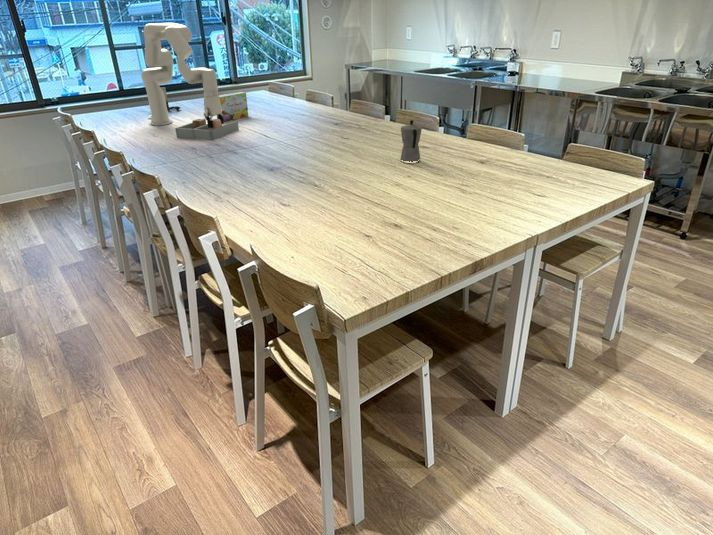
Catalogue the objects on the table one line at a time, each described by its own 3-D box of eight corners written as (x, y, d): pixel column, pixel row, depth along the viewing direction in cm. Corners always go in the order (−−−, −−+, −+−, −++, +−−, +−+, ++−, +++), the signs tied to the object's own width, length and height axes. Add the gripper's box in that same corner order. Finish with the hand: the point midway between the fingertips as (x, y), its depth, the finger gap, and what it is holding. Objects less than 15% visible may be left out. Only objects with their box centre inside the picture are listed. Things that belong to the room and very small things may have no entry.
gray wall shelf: (177, 137, 268) (175, 128, 265) (205, 127, 289) (204, 118, 287) (212, 140, 261) (211, 130, 258) (238, 129, 282) (237, 120, 280)
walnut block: (194, 133, 276) (192, 120, 273) (200, 131, 280) (197, 118, 277) (201, 133, 274) (199, 121, 271) (207, 131, 278) (205, 119, 275)
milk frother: (155, 110, 341) (150, 87, 334) (178, 107, 346) (174, 85, 339) (157, 113, 329) (152, 90, 322) (181, 111, 335) (177, 88, 328)
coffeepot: (397, 157, 226) (398, 117, 217) (417, 156, 226) (419, 116, 218) (403, 167, 212) (404, 125, 204) (424, 166, 213) (426, 124, 204)
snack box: (223, 122, 300) (219, 96, 293) (217, 121, 303) (213, 96, 296) (249, 116, 315) (246, 91, 308) (243, 115, 318) (240, 91, 311)
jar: (210, 134, 272) (208, 120, 269) (216, 132, 277) (214, 118, 273) (219, 135, 271) (216, 120, 267) (224, 133, 275) (222, 118, 271)
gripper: (214, 90, 272) (219, 122, 280) (195, 95, 257) (201, 128, 266) (226, 91, 269) (230, 122, 278) (207, 96, 255) (212, 129, 263)
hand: (216, 125), depth 272 cm, fingers open, 9 cm apart
